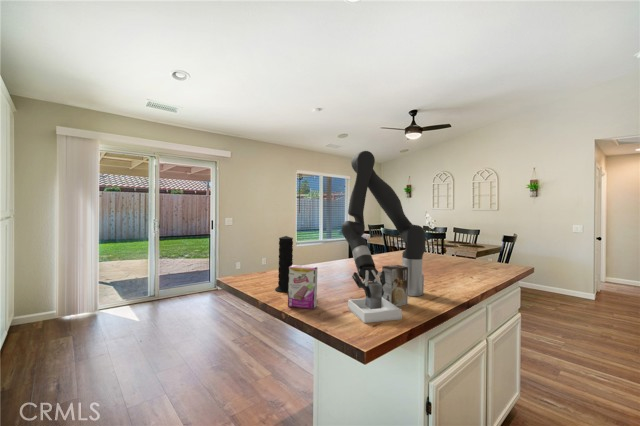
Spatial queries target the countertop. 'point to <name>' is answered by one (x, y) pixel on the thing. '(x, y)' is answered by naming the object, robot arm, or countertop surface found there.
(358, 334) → the countertop surface
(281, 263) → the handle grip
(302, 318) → the countertop surface
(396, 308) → the tray
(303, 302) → the candy bar box
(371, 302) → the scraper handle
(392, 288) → the coffee box
